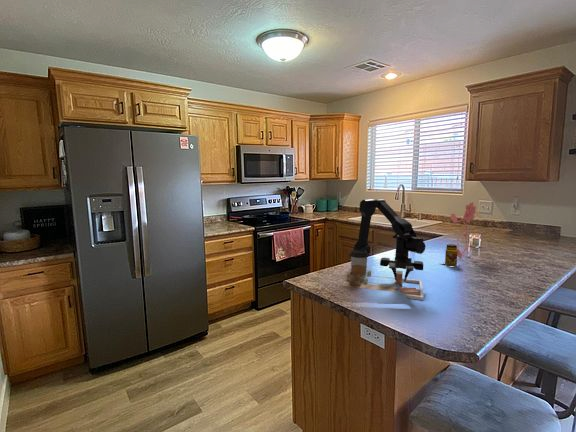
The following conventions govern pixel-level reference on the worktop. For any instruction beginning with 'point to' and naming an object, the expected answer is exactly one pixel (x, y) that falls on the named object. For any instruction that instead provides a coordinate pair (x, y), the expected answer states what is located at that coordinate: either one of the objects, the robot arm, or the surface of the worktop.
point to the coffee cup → (359, 262)
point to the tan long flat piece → (372, 286)
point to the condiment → (451, 255)
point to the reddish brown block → (410, 291)
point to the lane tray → (402, 287)
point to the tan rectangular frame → (398, 279)
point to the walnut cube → (354, 280)
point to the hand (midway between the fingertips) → (400, 281)
